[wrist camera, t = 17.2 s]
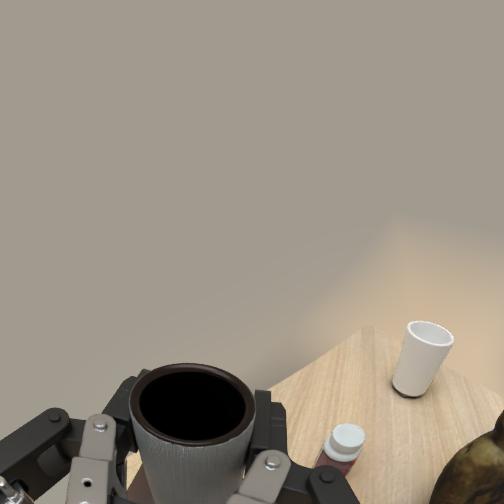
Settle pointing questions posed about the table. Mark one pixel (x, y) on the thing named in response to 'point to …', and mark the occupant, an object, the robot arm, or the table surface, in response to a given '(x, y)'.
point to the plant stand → (141, 489)
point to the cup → (421, 357)
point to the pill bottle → (341, 447)
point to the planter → (192, 432)
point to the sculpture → (474, 472)
